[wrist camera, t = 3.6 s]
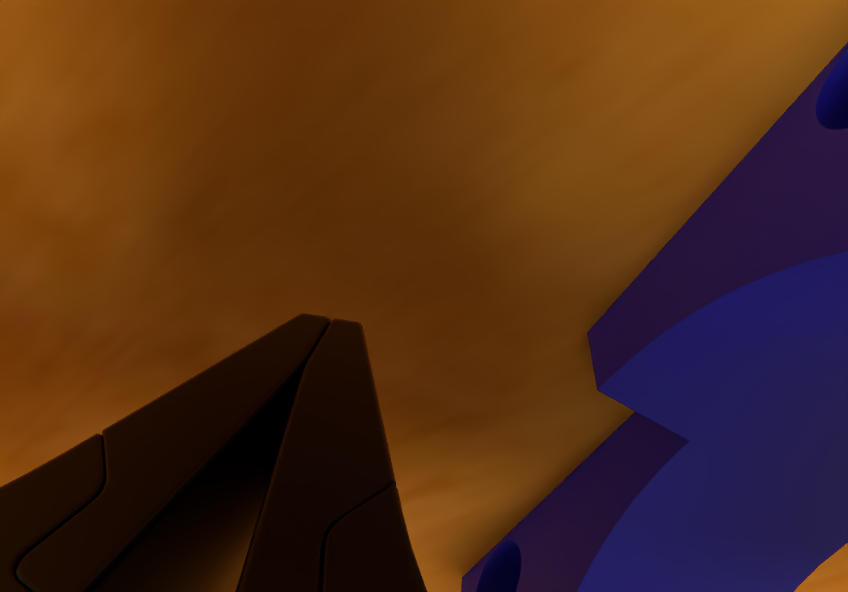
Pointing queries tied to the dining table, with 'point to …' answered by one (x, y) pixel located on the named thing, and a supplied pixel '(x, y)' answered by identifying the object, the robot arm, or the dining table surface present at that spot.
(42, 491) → the robot arm
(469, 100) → the dining table surface
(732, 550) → the blue half clamp bracket
